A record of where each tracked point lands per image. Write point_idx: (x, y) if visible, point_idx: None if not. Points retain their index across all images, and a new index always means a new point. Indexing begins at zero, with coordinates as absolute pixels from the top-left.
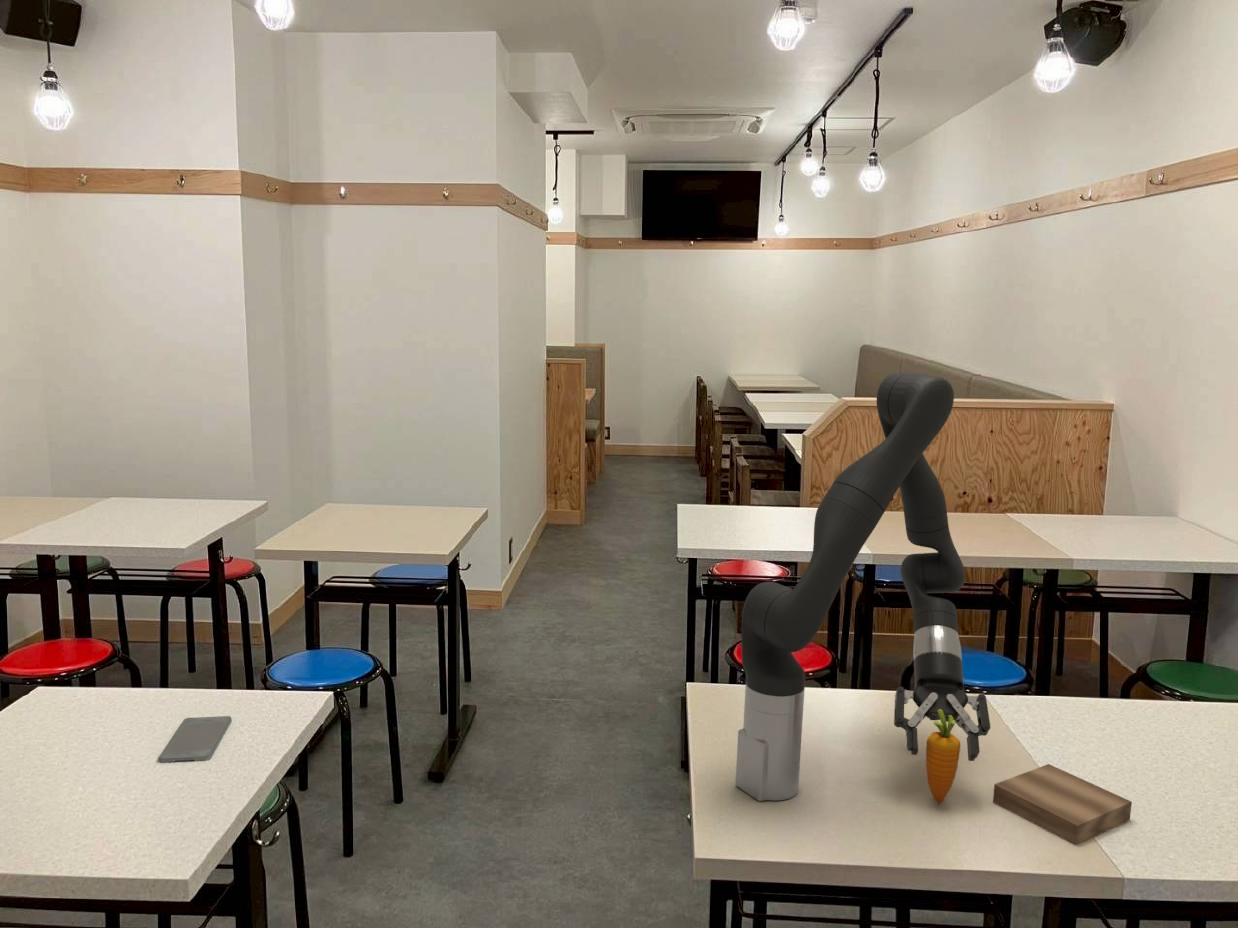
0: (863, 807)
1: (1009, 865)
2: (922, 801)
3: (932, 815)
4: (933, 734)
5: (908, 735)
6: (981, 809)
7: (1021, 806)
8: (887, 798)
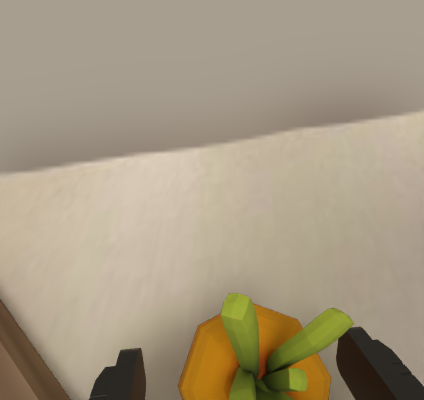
0: (377, 284)
1: (128, 167)
2: None
3: None
4: (314, 385)
5: (420, 387)
6: None
7: (27, 360)
8: None
